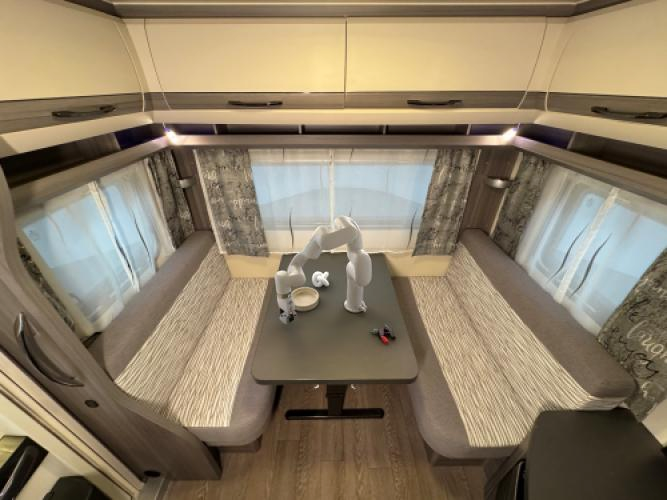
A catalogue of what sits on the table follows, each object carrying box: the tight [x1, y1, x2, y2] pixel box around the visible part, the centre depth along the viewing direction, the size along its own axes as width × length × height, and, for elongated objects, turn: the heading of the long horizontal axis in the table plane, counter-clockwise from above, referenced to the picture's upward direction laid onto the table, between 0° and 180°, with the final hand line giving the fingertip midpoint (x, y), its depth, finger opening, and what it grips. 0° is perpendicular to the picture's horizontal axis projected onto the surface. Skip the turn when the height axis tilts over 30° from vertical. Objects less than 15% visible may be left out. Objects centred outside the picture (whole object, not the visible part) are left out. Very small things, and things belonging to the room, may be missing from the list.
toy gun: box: [371, 323, 396, 345], centre depth 135 cm, size 10×12×5 cm
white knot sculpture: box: [311, 271, 330, 288], centre depth 175 cm, size 11×12×9 cm
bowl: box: [291, 286, 320, 312], centre depth 161 cm, size 18×18×4 cm
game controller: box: [278, 310, 297, 326], centre depth 144 cm, size 10×5×6 cm
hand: (287, 317), depth 144 cm, fingers closed on game controller, 7 cm apart
